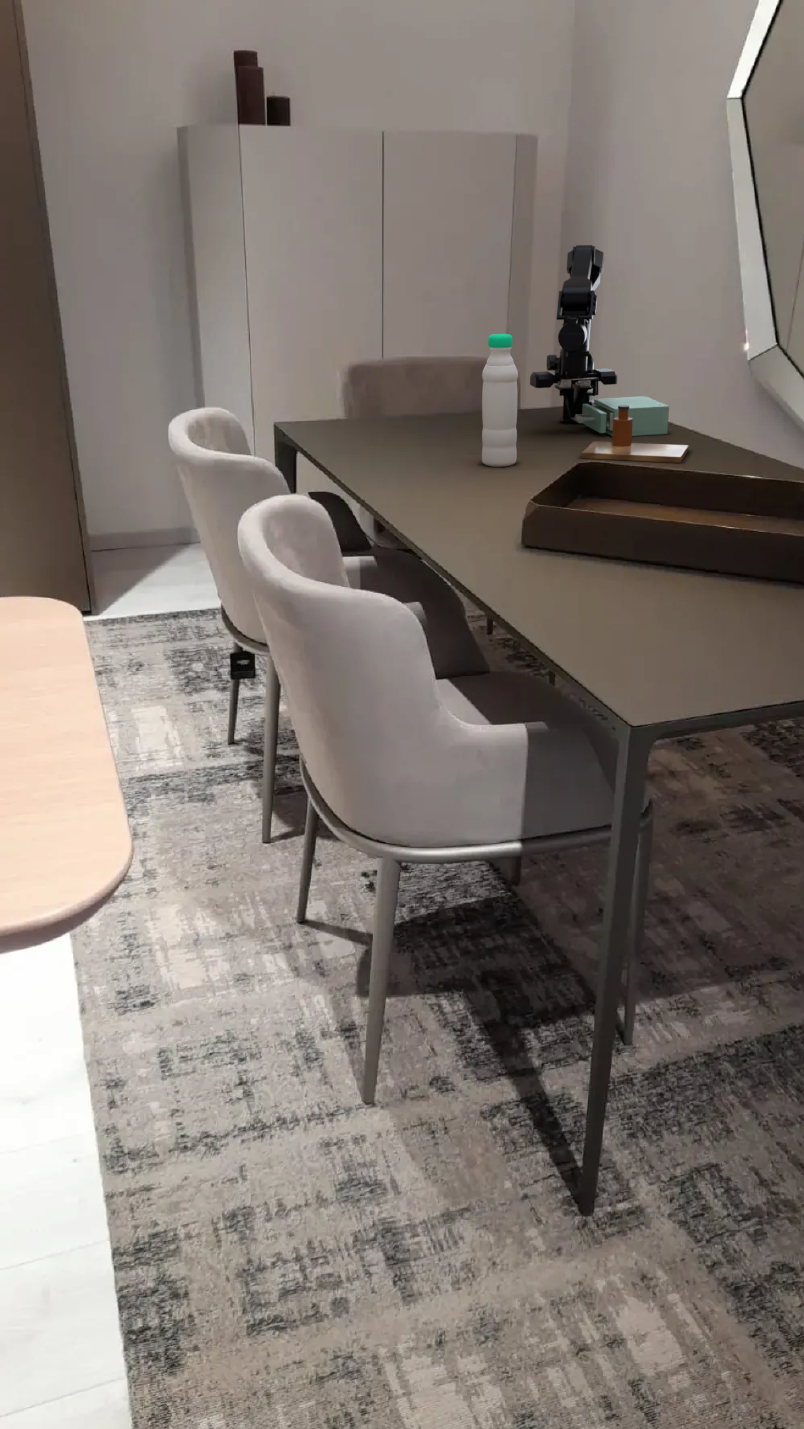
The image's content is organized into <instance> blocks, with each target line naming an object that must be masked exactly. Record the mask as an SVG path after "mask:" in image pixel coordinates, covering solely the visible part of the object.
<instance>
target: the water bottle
mask: <svg viewBox="0 0 804 1429" xmlns="http://www.w3.org/2000/svg"><path fill="white" fill-rule="evenodd" d="M513 340H514V339H513V336H512V335H511V334H509V333H494V334H490V335H489V336H488V339H487V345H488V350H489V352H490V353H489V356H488V358H487V359H486V364H485V365H484V368H483V370H482V372H481V373H482V374H481V378H482V394H481V417H482V431H481V442H482V450H481V462H482V463H483V465H485V466H488V467H492V468H493V467H494V468H500V467H501V468H502V467H510V466H513V465H514V464H515V463H517V460H518V459H517V458H518V455H517V454H518V452H517V440H518V431H517V421H518V378H519V371H518V368H517V366H516V364H515V361H514V358H513V357H512V355H511V350H512V349H513V343H514V341H513Z"/></svg>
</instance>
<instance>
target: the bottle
mask: <svg viewBox="0 0 804 1429" xmlns="http://www.w3.org/2000/svg"><path fill="white" fill-rule="evenodd" d="M618 409H619V414H618V417H616V418H614V419H613V436H611V437H612V439H611V442H612V445H613V446H619V447H625V446H630V445H631V443H633V442H632V440H633V436H632V425H633V418H630V417H628V410H629V406H628V405H619V406H618Z"/></svg>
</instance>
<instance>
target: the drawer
mask: <svg viewBox="0 0 804 1429" xmlns="http://www.w3.org/2000/svg"><path fill="white" fill-rule="evenodd" d="M571 419H573V420H575V421H576V422H578V423H577V424H583V425H585V426H586V427H589V429H592V430H594V431H596V432H598V433H599V434H607V433H606V429H608V430H610V431H613V419H614V412H613V411H610V410H608V409H606V408H604V407H602V406H600V405H594V407H593V406H591V405H589V404H583V408H582V414H576V415H575V417H574V418H571Z"/></svg>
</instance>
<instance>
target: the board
mask: <svg viewBox="0 0 804 1429" xmlns="http://www.w3.org/2000/svg"><path fill="white" fill-rule="evenodd" d="M688 452H689V445H687V444H666V443H665V444H663V443H646V442H645V443H644V442H641V443H640V442H631V445H630V446H625V447H619V446H613V445H612V441H599V440H598V441H597V440H596V441H595V440H594V441H592V442H591V443H590V444H589V445H588V446H587V447H586V448H585V449H584V450H583V451H582V452H581V459H589V460H591V459H592V460H610V461H612V460H613V461H630V462H631V461H632V462H633V461H634V462H652V463H653V462H654V463H669V464H670V463H671V464H672V463H673V464H680V463H682V461H683V460H684V458H685V457H686V455H687V453H688Z"/></svg>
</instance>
